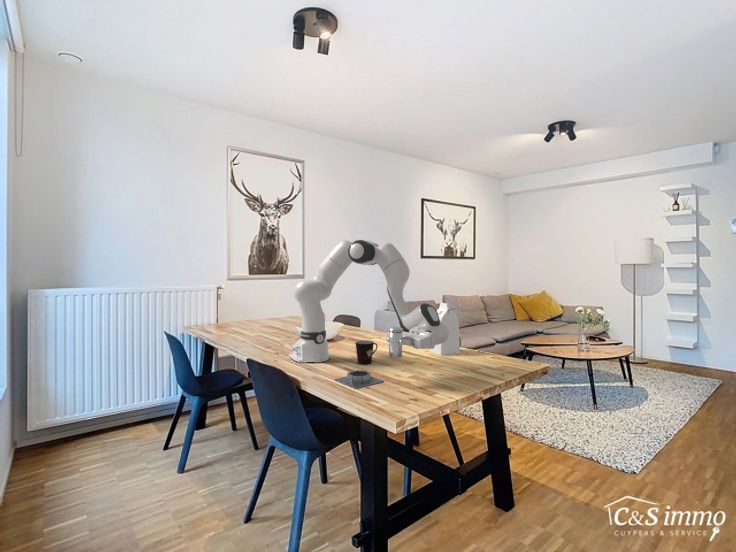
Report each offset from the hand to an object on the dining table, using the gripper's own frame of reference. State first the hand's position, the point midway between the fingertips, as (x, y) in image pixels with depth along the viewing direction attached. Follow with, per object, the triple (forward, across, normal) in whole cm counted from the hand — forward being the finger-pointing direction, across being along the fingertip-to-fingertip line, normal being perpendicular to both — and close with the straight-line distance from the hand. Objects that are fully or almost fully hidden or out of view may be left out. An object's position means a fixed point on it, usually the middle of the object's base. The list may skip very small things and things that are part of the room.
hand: (393, 341), depth 150 cm
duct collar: (+8, -12, +17) cm, 22 cm away
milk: (-59, -23, +17) cm, 66 cm away
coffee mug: (-13, -31, +17) cm, 38 cm away
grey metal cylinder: (-1, 0, +6) cm, 6 cm away
